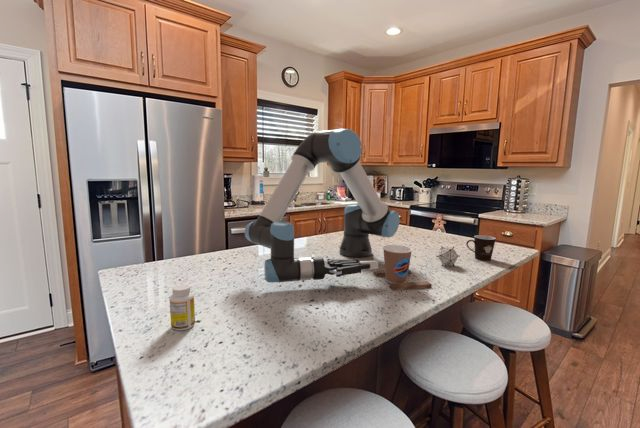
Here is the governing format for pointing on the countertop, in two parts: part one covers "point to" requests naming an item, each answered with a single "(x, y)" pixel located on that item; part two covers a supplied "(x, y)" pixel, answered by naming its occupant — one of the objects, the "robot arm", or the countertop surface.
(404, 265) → the coffee cup
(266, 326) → the countertop surface
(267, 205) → the robot arm
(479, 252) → the coffee mug
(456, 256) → the game die
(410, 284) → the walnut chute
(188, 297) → the supplement bottle
